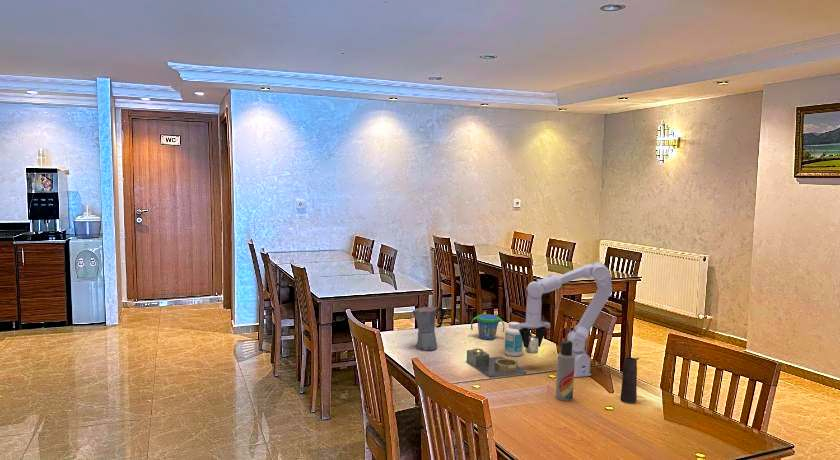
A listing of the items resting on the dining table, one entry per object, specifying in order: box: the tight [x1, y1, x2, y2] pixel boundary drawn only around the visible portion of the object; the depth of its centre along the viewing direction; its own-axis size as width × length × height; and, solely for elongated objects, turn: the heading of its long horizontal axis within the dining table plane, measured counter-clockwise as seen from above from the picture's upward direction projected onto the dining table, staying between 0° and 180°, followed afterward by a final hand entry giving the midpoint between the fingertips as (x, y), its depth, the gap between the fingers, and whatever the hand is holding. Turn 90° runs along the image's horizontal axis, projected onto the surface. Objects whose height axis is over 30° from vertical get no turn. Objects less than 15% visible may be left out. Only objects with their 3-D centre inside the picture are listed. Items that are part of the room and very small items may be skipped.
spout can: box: [524, 332, 539, 355], centre depth 232 cm, size 5×5×7 cm
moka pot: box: [411, 302, 446, 352], centre depth 257 cm, size 10×15×20 cm, turn 115°
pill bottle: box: [504, 321, 524, 357], centre depth 252 cm, size 8×7×14 cm
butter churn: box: [620, 319, 640, 404], centre depth 201 cm, size 9×10×28 cm
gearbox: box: [466, 348, 528, 379], centre depth 233 cm, size 20×16×6 cm
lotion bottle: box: [555, 339, 575, 402], centre depth 202 cm, size 6×6×20 cm
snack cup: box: [470, 313, 505, 341], centre depth 276 cm, size 16×10×10 cm
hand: (531, 346), depth 232 cm, fingers closed on spout can, 5 cm apart
